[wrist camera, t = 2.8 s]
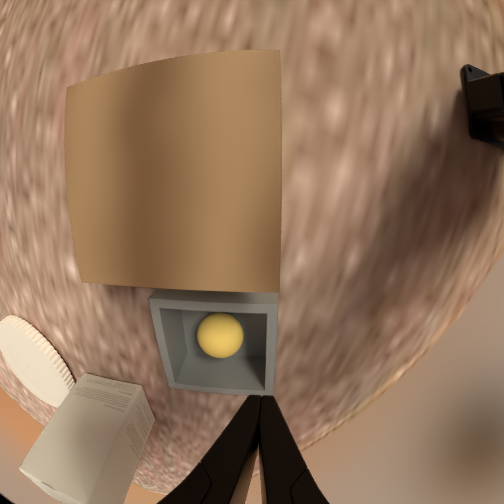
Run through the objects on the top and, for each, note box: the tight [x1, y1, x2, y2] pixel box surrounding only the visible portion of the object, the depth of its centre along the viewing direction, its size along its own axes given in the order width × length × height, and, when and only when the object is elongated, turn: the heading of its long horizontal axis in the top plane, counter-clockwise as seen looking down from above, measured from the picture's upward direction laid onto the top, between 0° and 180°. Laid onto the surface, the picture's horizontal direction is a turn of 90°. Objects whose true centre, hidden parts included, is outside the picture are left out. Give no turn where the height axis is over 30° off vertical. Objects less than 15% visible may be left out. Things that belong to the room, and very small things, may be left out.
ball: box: [197, 313, 243, 358], centre depth 19 cm, size 3×3×3 cm
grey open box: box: [148, 288, 278, 396], centre depth 19 cm, size 8×8×4 cm
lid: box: [65, 50, 282, 293], centre depth 11 cm, size 9×9×2 cm
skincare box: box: [19, 373, 155, 504], centre depth 18 cm, size 8×7×16 cm
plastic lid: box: [0, 315, 75, 408], centre depth 25 cm, size 14×14×2 cm
